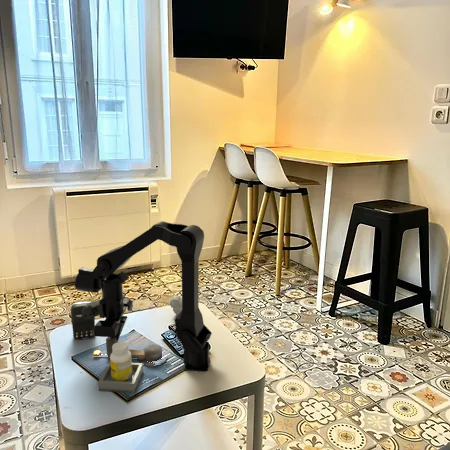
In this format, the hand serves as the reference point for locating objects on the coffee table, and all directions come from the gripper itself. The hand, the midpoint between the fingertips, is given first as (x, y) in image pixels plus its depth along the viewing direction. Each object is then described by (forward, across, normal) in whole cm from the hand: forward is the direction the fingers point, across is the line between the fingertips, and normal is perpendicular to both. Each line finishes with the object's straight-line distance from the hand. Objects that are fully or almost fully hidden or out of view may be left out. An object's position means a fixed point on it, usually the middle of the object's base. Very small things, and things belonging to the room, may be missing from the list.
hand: (115, 342), depth 127 cm
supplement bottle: (+2, +14, +6) cm, 16 cm away
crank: (+2, +3, +6) cm, 8 cm away
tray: (+2, +14, +6) cm, 16 cm away
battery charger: (+3, -6, -12) cm, 14 cm away
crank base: (+3, +3, +5) cm, 7 cm away
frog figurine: (+3, -25, +15) cm, 29 cm away
